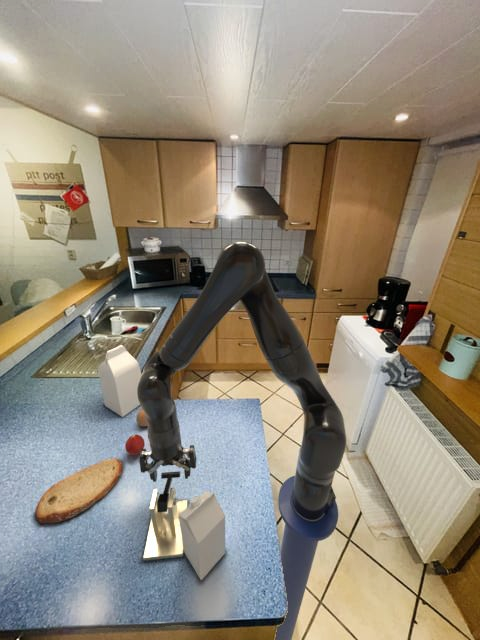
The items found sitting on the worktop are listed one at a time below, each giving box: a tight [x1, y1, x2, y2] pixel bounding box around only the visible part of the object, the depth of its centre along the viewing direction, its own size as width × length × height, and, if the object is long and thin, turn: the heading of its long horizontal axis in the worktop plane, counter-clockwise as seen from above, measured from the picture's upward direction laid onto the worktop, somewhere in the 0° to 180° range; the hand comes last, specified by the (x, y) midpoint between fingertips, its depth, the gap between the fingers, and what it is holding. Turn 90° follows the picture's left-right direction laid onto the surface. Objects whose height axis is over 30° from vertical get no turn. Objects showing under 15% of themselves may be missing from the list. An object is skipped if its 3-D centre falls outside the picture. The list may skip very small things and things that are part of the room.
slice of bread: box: [35, 458, 123, 524], centre depth 72 cm, size 18×18×4 cm
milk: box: [97, 344, 142, 418], centre depth 99 cm, size 12×12×26 cm
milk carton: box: [179, 491, 226, 581], centre depth 56 cm, size 7×7×19 cm
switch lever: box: [157, 470, 181, 512], centre depth 64 cm, size 12×5×2 cm, turn 5°
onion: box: [124, 434, 145, 456], centre depth 82 cm, size 6×6×8 cm
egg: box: [136, 408, 148, 427], centre depth 93 cm, size 5×5×7 cm
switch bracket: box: [142, 487, 189, 562], centre depth 61 cm, size 12×9×13 cm
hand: (171, 477), depth 69 cm, fingers open, 8 cm apart
